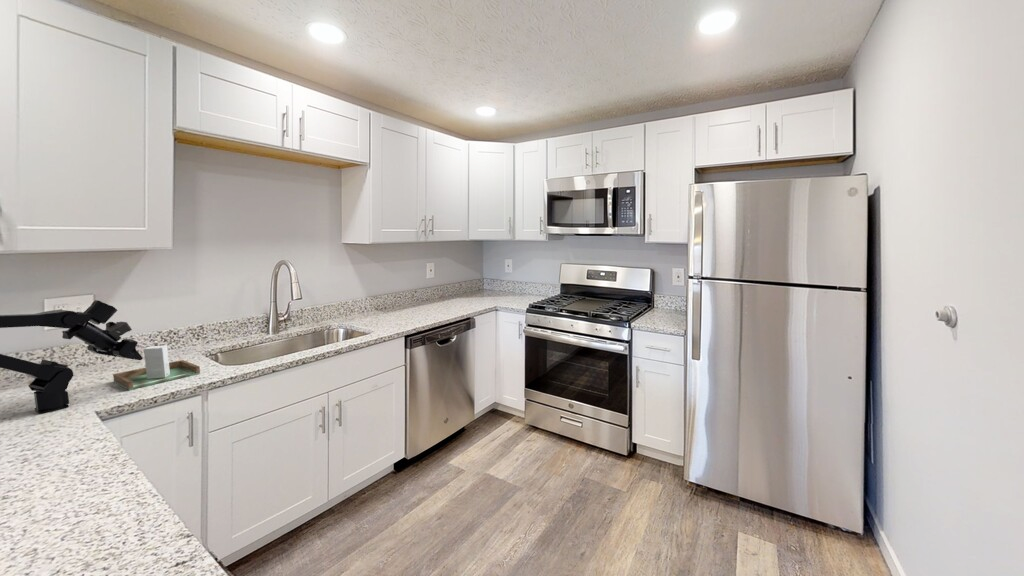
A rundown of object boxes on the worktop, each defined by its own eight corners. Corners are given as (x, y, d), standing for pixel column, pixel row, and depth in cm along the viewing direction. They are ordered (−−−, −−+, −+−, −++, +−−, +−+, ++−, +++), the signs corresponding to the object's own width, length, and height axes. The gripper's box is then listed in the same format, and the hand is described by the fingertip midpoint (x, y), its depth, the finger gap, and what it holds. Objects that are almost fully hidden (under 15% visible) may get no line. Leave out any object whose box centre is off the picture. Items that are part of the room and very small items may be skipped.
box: (129, 390, 149) (128, 382, 149) (113, 381, 158) (113, 374, 157) (200, 373, 168) (199, 366, 167) (183, 366, 176) (182, 359, 176)
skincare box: (170, 374, 165) (167, 345, 164) (165, 377, 161) (162, 347, 160) (151, 375, 163) (148, 346, 162) (146, 379, 159) (143, 349, 158)
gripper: (128, 317, 144) (166, 341, 156) (94, 314, 150) (133, 337, 162) (102, 345, 137) (143, 368, 149) (68, 340, 143) (111, 362, 155)
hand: (133, 357), depth 154 cm, fingers open, 9 cm apart
